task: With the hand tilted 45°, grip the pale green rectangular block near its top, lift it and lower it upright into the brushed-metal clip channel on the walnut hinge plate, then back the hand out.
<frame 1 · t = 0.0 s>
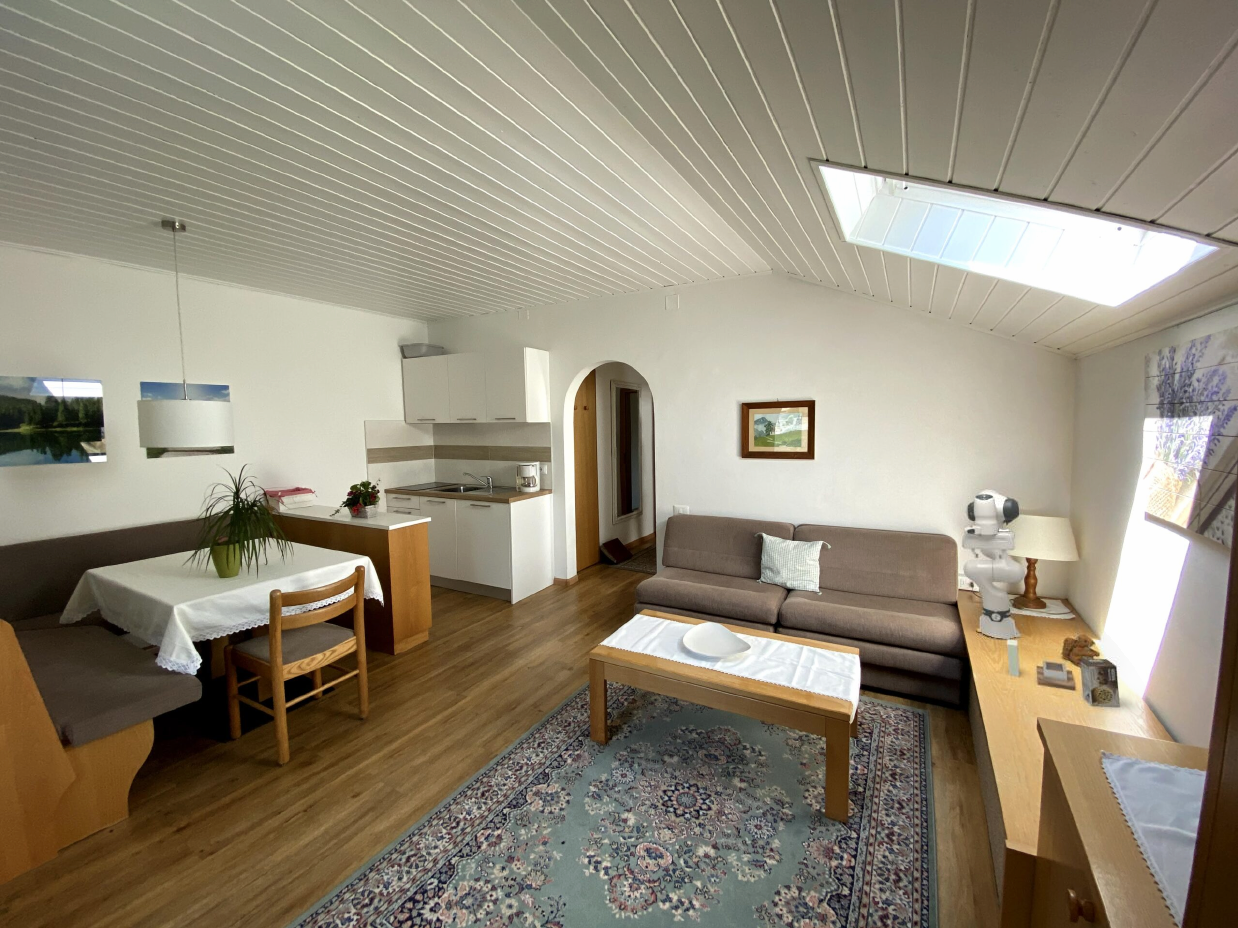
hand: (988, 558, 245), 48 cm above the table, tool pointing down, fingers open, 8 cm apart
stuffed squirrel: (1079, 662, 235), on the table
coffee box: (1100, 702, 203), on the table
pale green rectangular block: (1014, 672, 232), on the table
hinge clip: (1055, 679, 223), on the table
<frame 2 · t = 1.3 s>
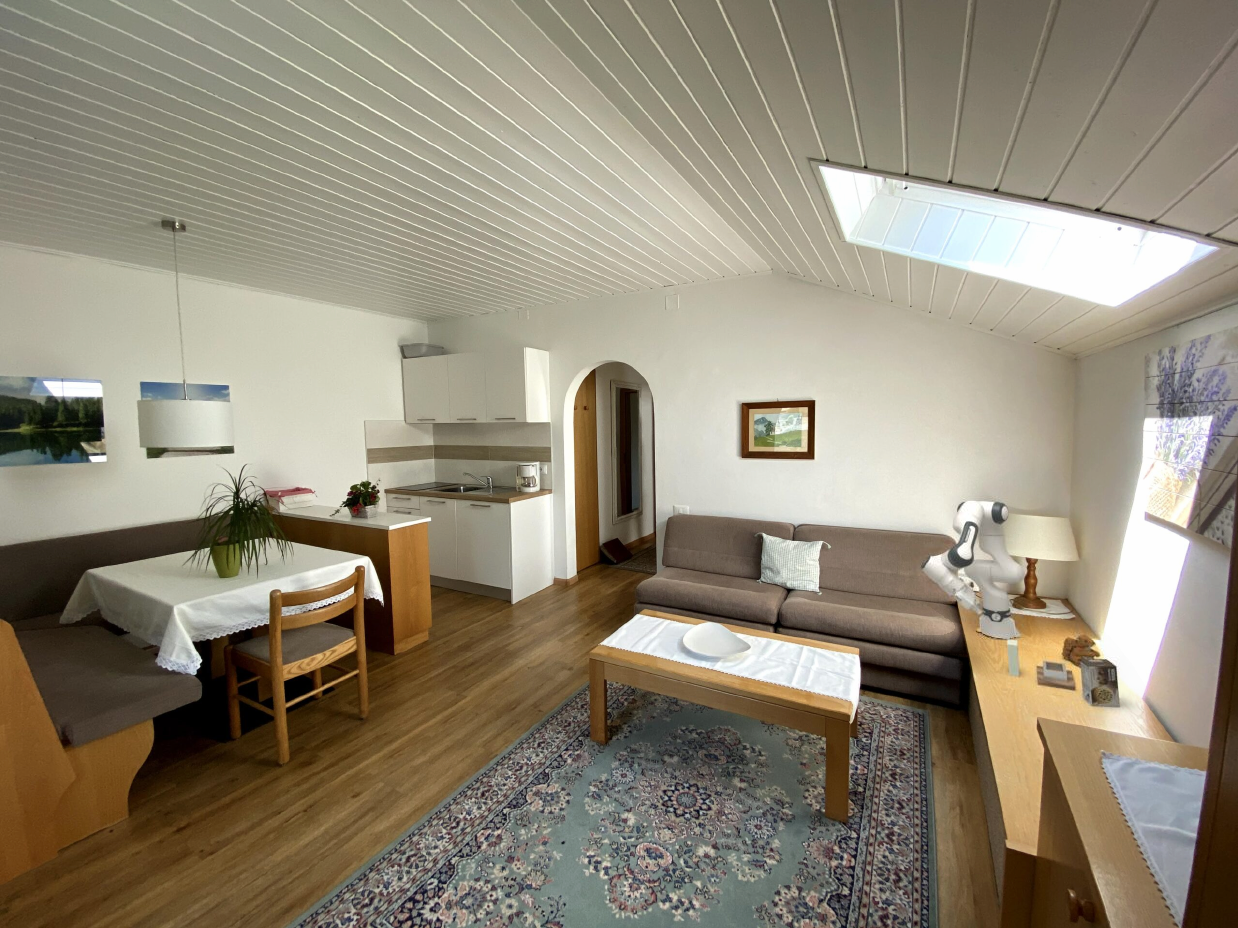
hand: (981, 609, 237), 27 cm above the table, tool tilted 45°, fingers open, 8 cm apart
nothing on the table moved.
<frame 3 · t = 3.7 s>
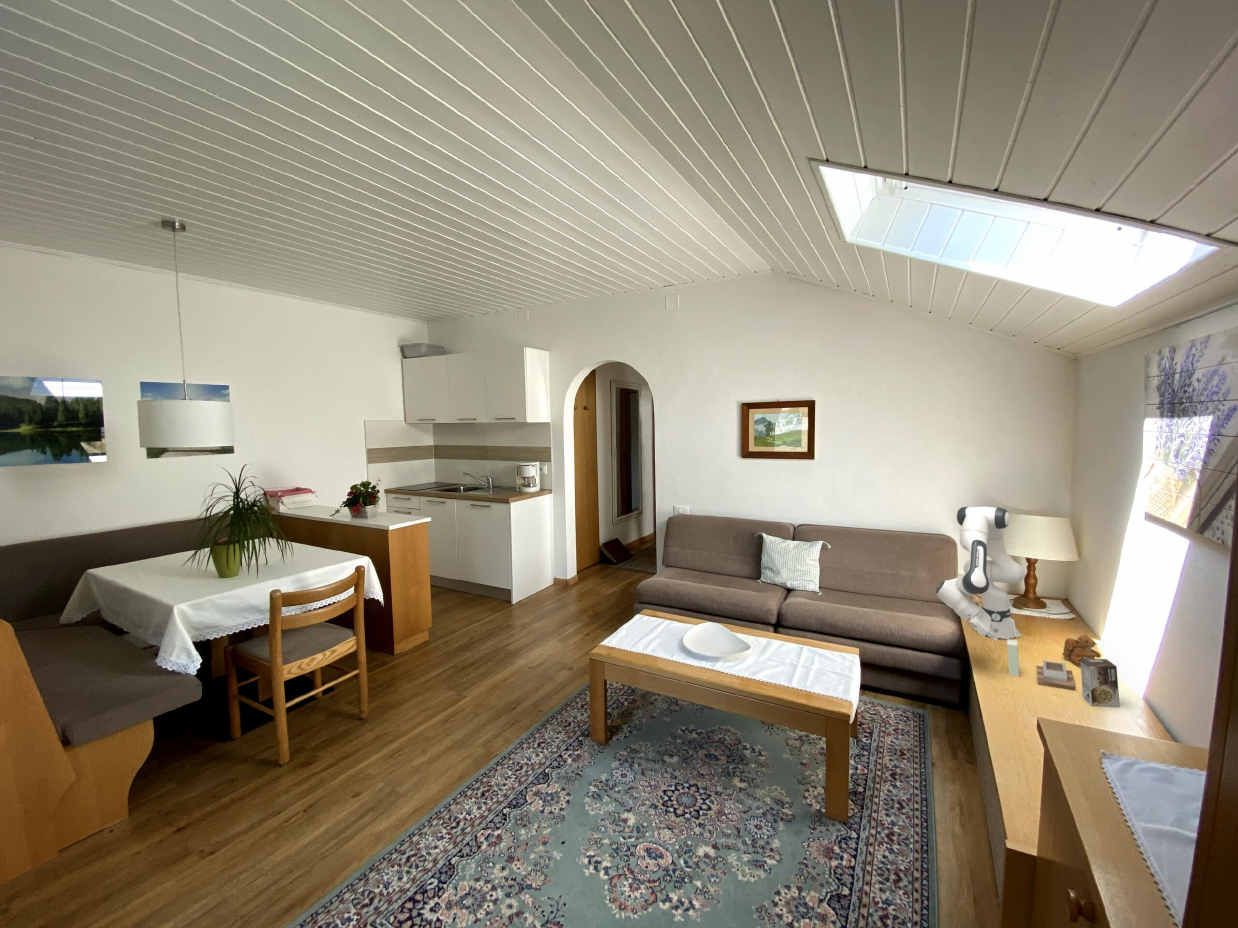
hand: (997, 635, 234), 16 cm above the table, tool tilted 45°, fingers open, 8 cm apart
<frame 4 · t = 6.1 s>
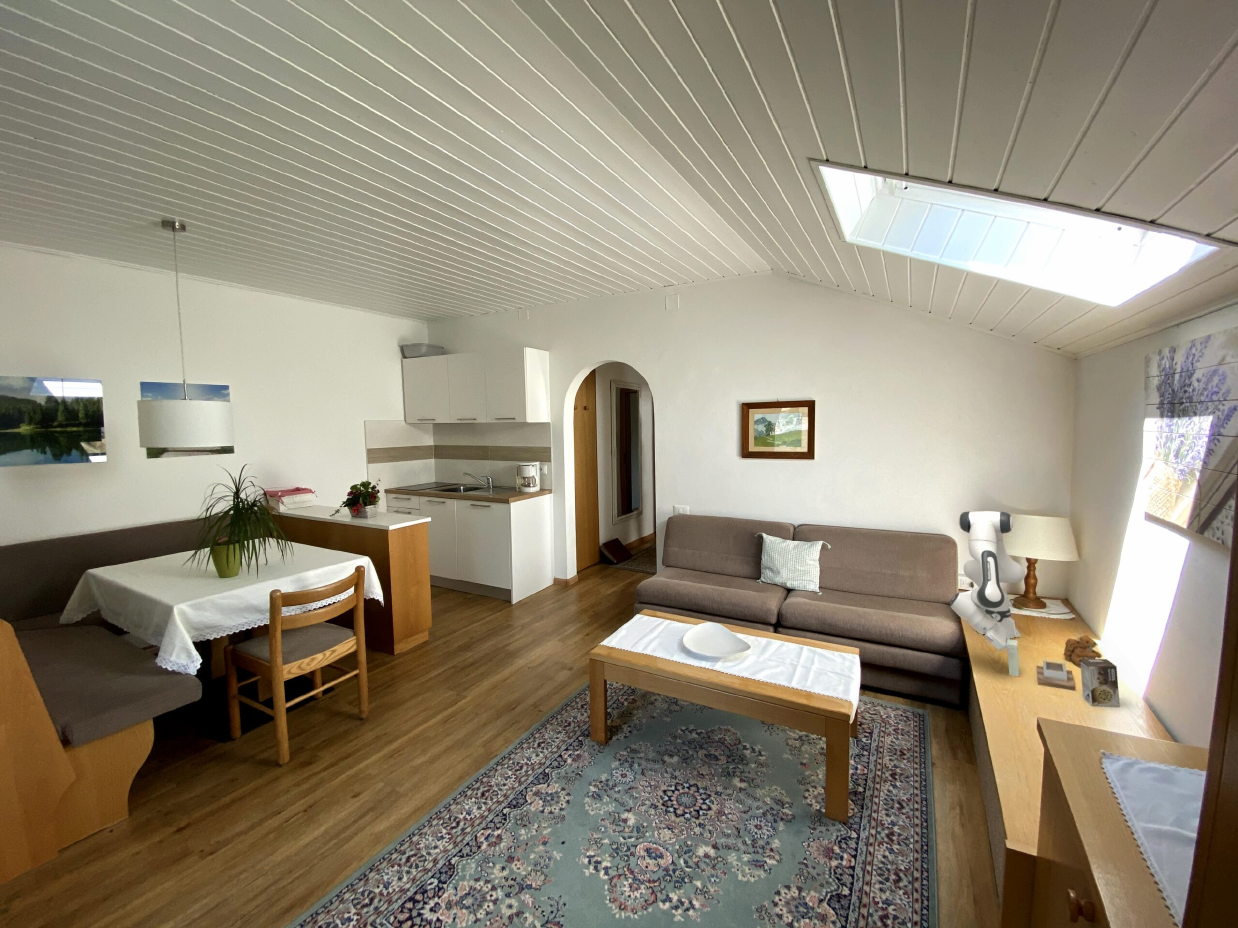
hand: (1013, 649, 231), 11 cm above the table, tool tilted 45°, fingers closed on pale green rectangular block, 6 cm apart
pale green rectangular block: (1014, 672, 232), on the table, touching gripper
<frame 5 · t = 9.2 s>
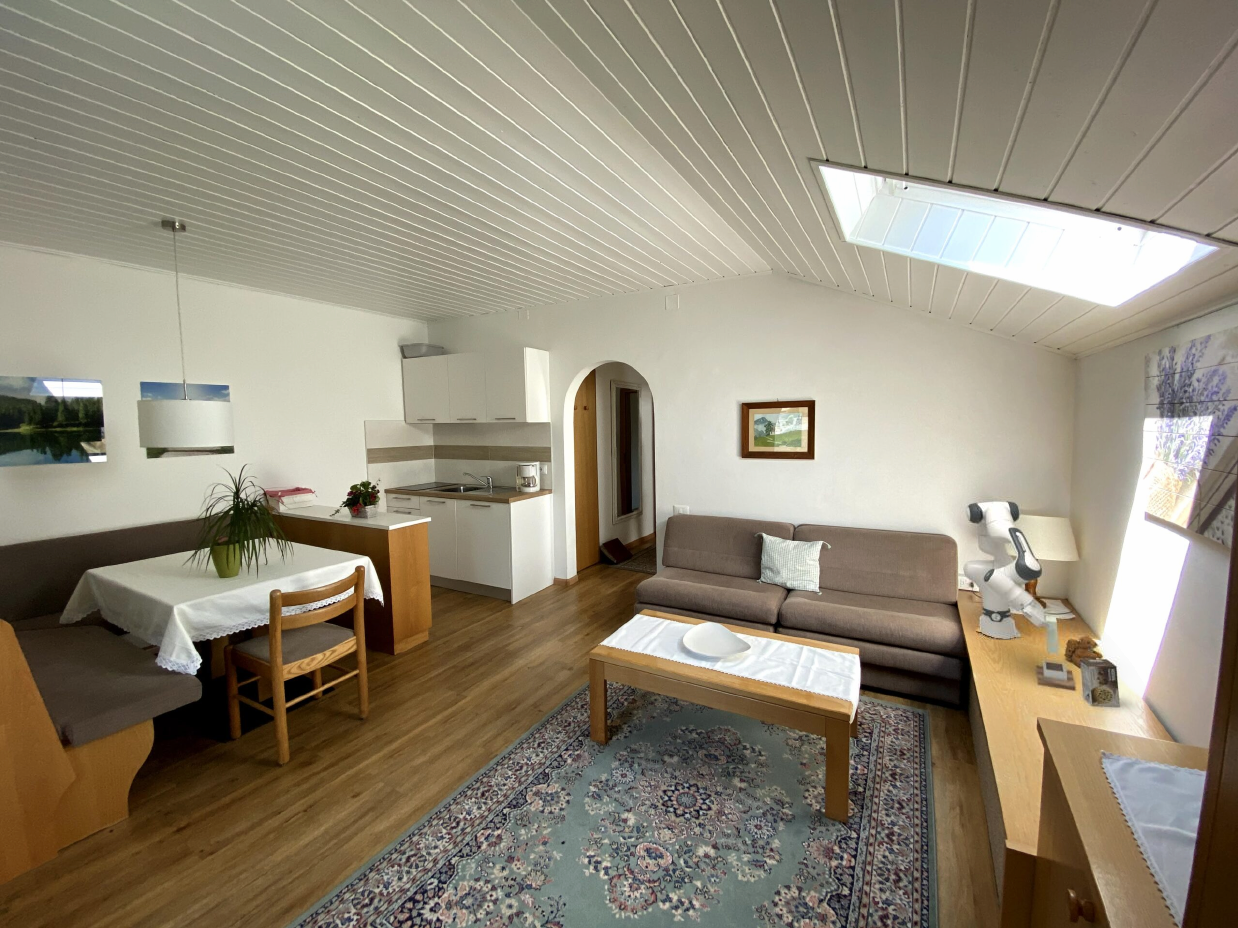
hand: (1051, 626, 222), 23 cm above the table, tool tilted 45°, fingers closed on pale green rectangular block, 6 cm apart
pale green rectangular block: (1053, 650, 223), point 12 cm above the table, touching gripper
when the fingers open (14 cm above the table, at t = 12.3 s): pale green rectangular block drops 1 cm, resting on hinge clip.
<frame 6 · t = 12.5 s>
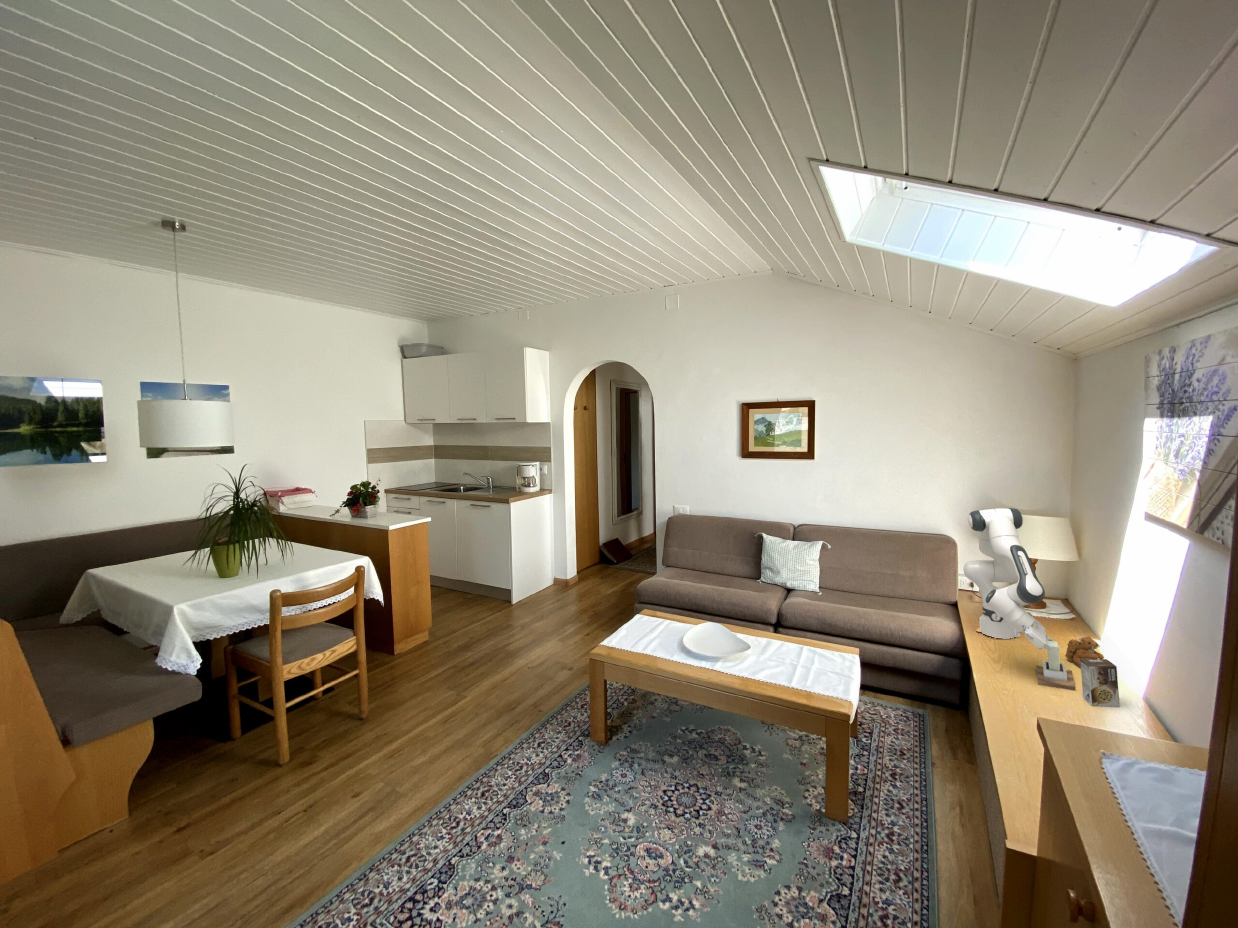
hand: (1053, 647, 222), 14 cm above the table, tool tilted 45°, fingers open, 8 cm apart
pale green rectangular block: (1054, 675, 223), point 2 cm above the table, touching hinge clip
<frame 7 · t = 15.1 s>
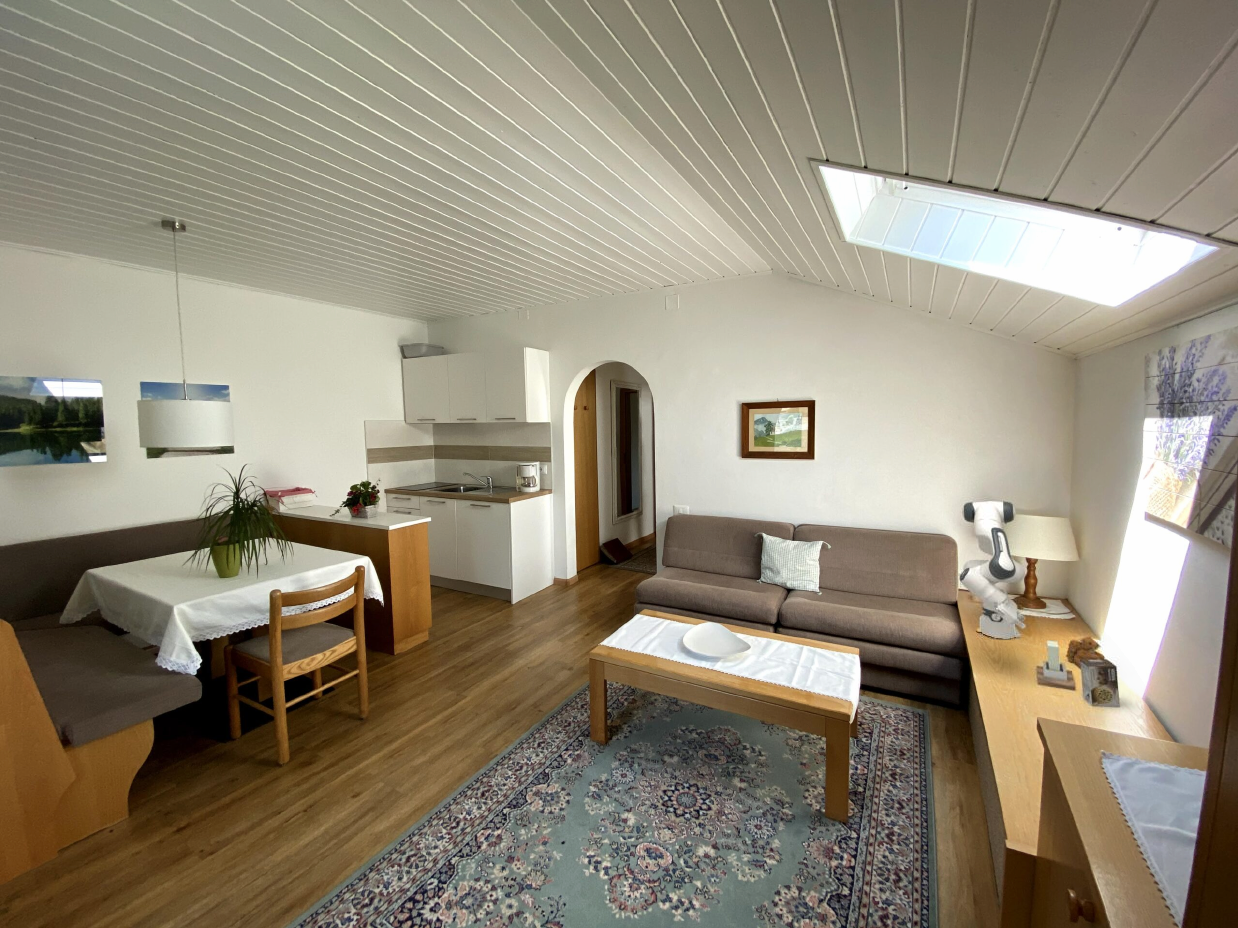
hand: (1024, 623, 228), 23 cm above the table, tool tilted 45°, fingers open, 8 cm apart
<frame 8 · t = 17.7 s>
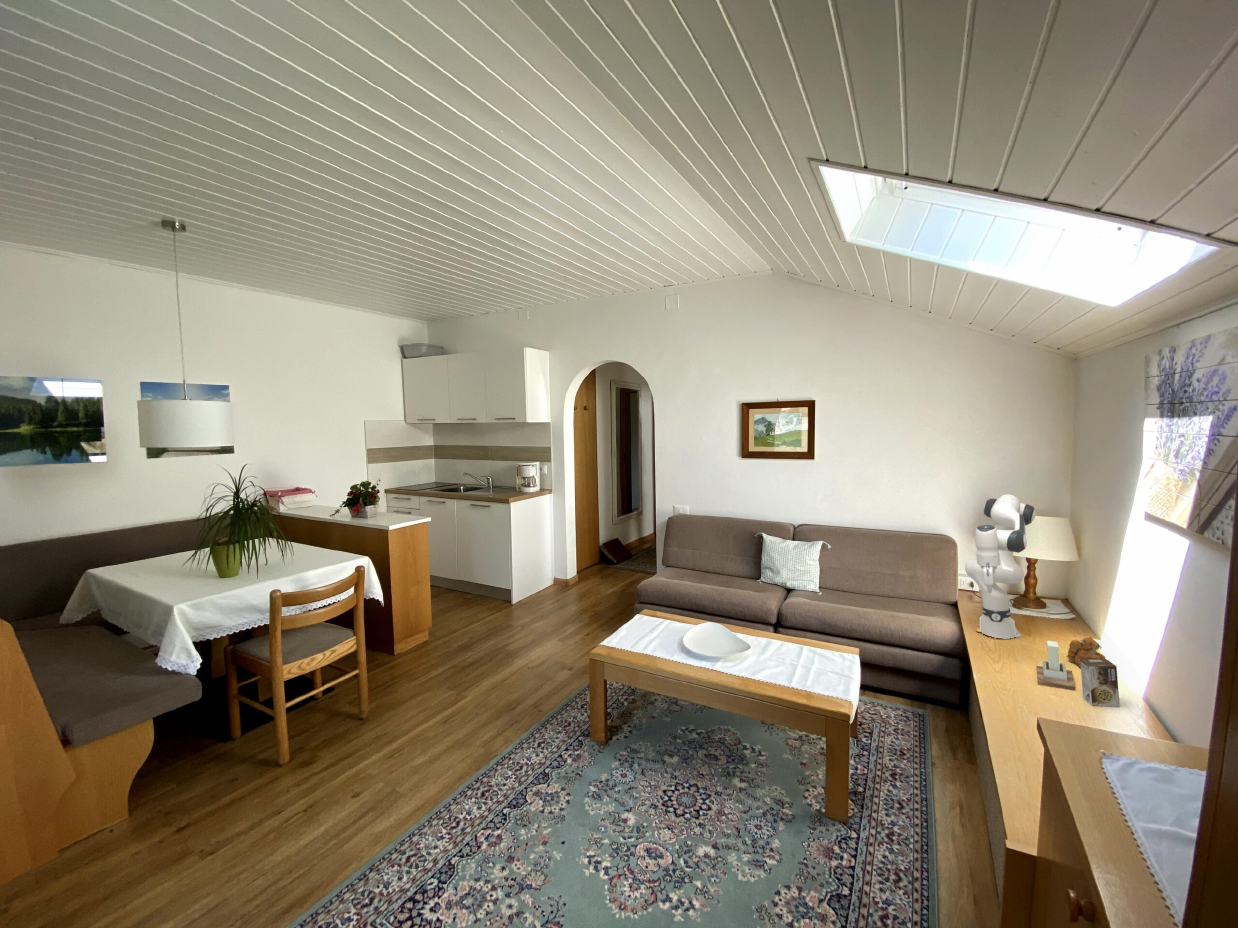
hand: (990, 589, 242), 34 cm above the table, tool pointing down, fingers open, 8 cm apart
at the end: pale green rectangular block 0.2 cm off-centre on the hinge clip, point 1.5 cm above the hinge clip's base; pale green rectangular block tilted 0°; the gripper is holding nothing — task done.
